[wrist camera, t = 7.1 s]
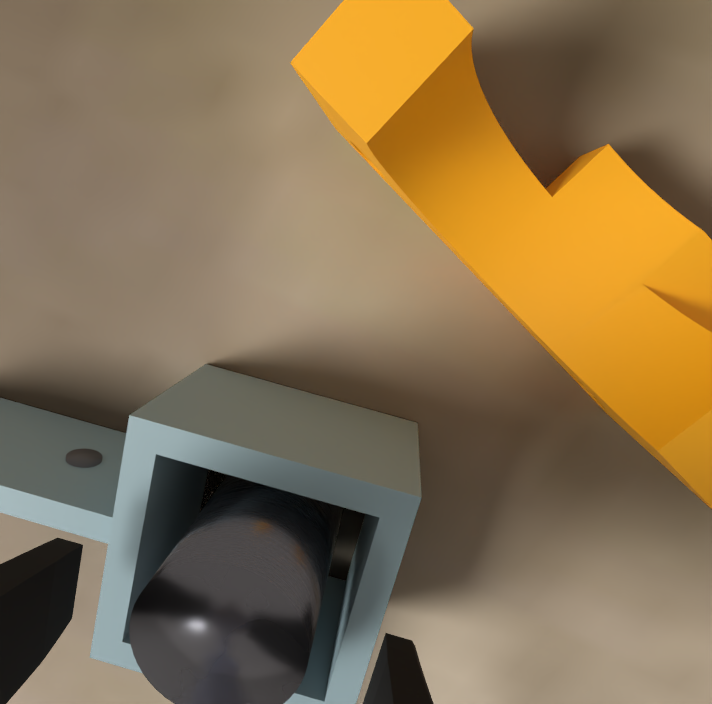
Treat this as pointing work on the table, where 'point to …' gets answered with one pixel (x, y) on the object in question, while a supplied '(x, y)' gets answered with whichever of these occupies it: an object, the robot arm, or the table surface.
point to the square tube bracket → (186, 488)
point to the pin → (237, 598)
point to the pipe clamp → (532, 223)
